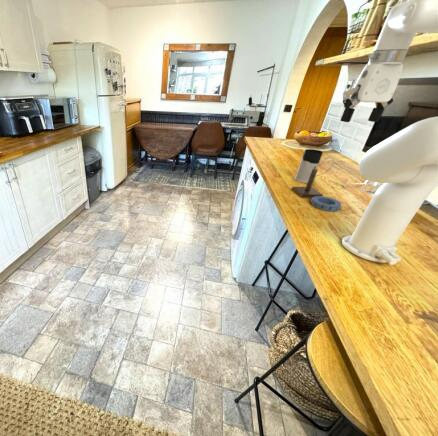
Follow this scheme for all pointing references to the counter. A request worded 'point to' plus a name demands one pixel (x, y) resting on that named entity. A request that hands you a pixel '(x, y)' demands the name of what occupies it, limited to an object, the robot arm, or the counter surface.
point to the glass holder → (309, 164)
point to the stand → (308, 188)
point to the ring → (318, 203)
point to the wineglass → (366, 185)
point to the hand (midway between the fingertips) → (358, 121)
